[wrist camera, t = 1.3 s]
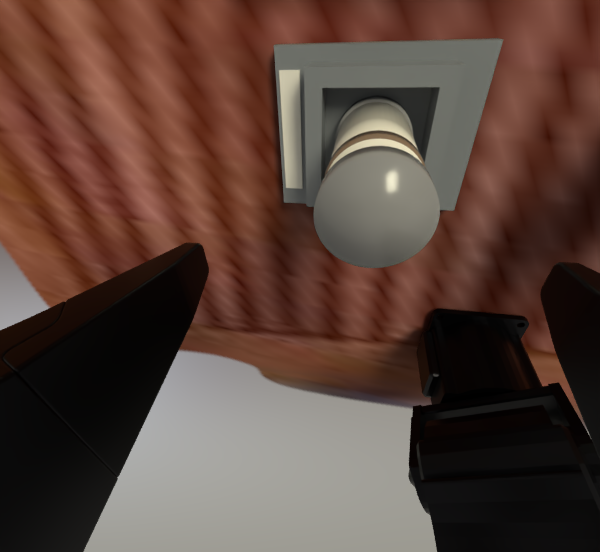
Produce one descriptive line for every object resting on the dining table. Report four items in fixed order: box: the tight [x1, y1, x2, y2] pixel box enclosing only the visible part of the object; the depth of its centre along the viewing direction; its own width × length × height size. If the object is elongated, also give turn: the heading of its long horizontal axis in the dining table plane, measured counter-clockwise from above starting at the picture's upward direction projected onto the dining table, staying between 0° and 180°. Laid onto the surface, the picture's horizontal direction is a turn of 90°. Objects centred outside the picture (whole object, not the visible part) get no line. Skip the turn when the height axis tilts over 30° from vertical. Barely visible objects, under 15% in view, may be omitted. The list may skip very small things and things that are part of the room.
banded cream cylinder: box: [313, 95, 440, 268], centre depth 14 cm, size 4×4×9 cm
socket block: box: [274, 38, 503, 211], centre depth 17 cm, size 10×8×3 cm
